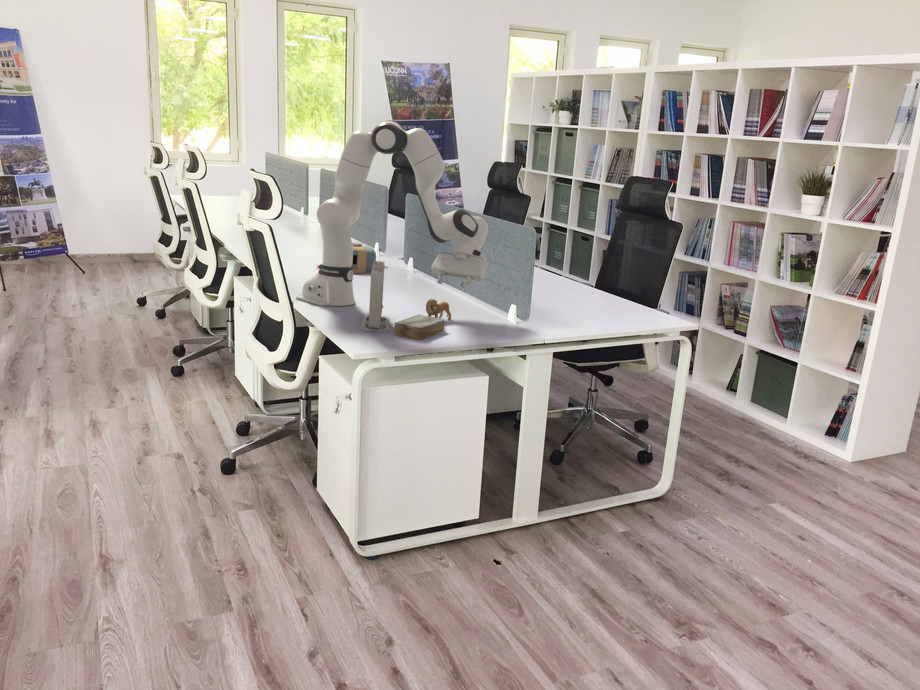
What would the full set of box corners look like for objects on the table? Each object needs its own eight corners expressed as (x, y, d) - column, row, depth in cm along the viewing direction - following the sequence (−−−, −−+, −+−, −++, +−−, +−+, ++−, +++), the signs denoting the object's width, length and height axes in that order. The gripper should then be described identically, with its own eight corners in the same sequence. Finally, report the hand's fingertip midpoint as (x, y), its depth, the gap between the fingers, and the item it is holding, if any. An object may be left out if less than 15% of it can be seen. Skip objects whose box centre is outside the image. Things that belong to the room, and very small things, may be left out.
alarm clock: (326, 269, 364) (327, 243, 361) (344, 263, 382) (345, 238, 379) (364, 274, 359) (366, 248, 356) (381, 268, 377) (383, 243, 374)
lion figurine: (434, 326, 276) (436, 300, 274) (421, 323, 278) (422, 298, 276) (454, 319, 289) (456, 294, 287) (441, 316, 291) (443, 292, 289)
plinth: (393, 334, 261) (394, 322, 260) (418, 325, 275) (418, 314, 274) (420, 340, 257) (421, 328, 256) (443, 330, 271) (444, 319, 270)
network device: (364, 315, 284) (367, 259, 279) (389, 316, 285) (392, 261, 279) (361, 333, 259) (363, 272, 254) (388, 334, 260) (391, 274, 255)
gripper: (437, 246, 295) (423, 275, 289) (487, 253, 287) (473, 284, 281) (442, 256, 300) (428, 286, 294) (491, 264, 292) (478, 294, 286)
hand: (450, 285), depth 287 cm, fingers open, 8 cm apart
